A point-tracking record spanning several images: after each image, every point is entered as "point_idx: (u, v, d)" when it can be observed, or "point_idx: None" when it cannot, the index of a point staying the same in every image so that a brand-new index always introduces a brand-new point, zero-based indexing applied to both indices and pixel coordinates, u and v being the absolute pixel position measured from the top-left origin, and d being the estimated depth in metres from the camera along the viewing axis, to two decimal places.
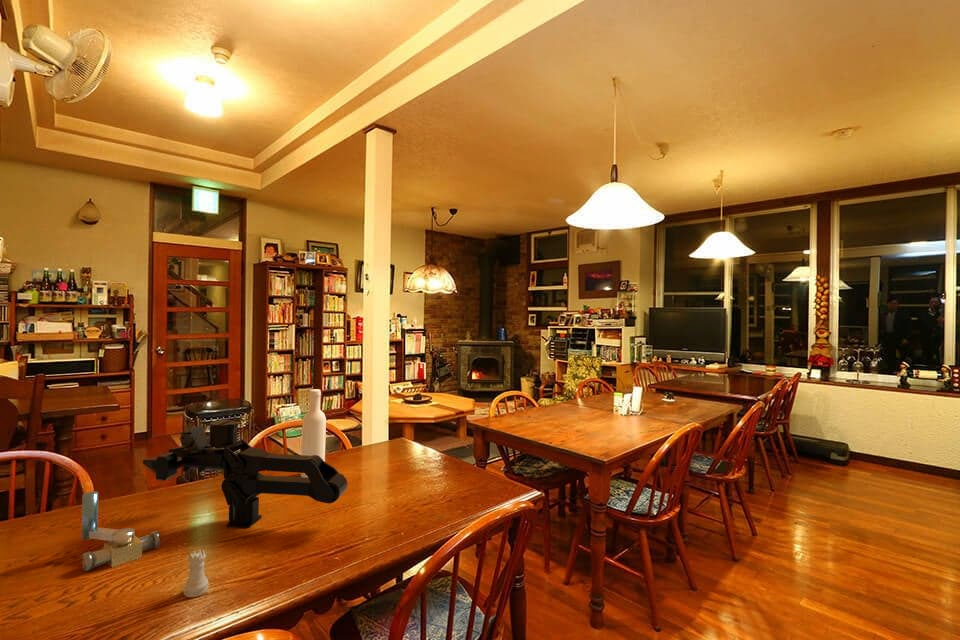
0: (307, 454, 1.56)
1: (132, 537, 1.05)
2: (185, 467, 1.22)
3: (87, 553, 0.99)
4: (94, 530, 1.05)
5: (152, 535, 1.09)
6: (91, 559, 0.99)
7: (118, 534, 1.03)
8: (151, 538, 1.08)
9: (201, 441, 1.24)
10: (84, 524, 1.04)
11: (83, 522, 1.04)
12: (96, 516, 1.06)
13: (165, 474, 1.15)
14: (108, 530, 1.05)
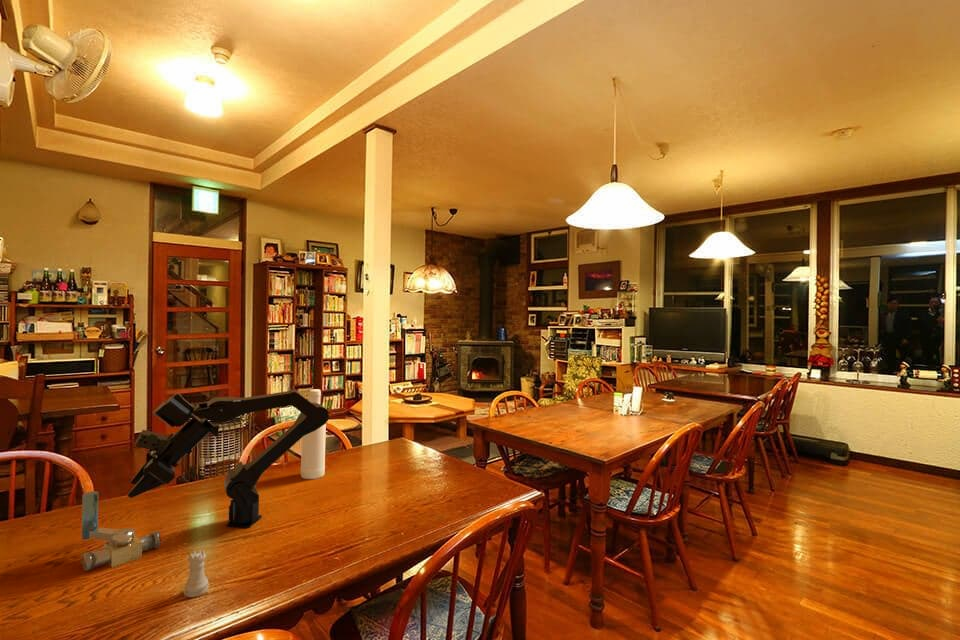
0: (307, 454, 1.56)
1: (132, 537, 1.05)
2: (173, 463, 1.12)
3: (87, 553, 0.99)
4: (94, 530, 1.05)
5: (152, 535, 1.09)
6: (91, 559, 0.99)
7: (118, 534, 1.03)
8: (151, 538, 1.08)
9: (161, 436, 1.13)
10: (84, 524, 1.04)
11: (83, 522, 1.04)
12: (96, 516, 1.06)
13: (170, 471, 1.07)
14: (108, 530, 1.05)
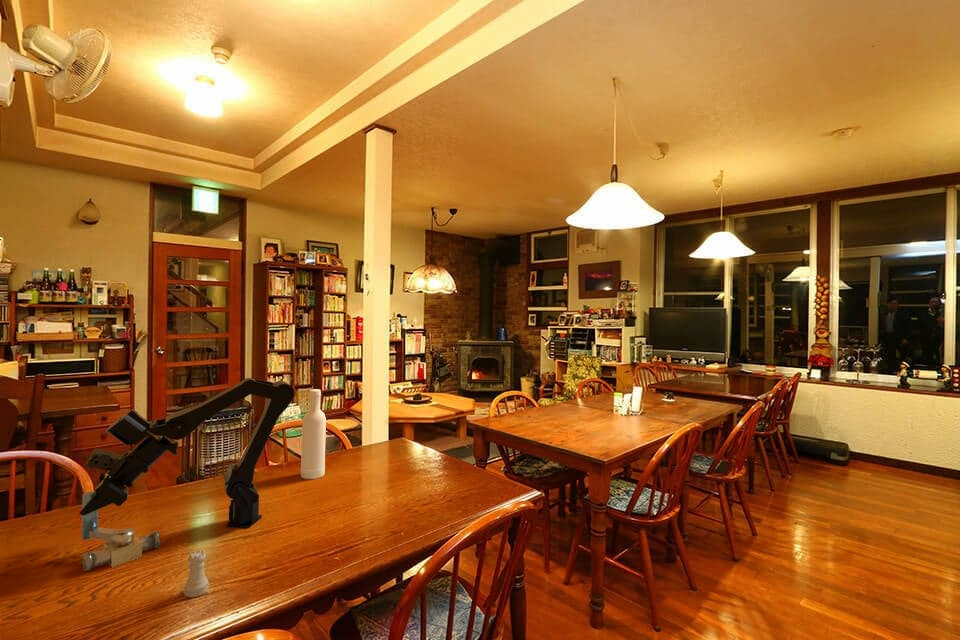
0: (307, 454, 1.56)
1: (132, 537, 1.05)
2: (127, 483, 1.08)
3: (87, 553, 0.99)
4: (94, 530, 1.05)
5: (152, 535, 1.09)
6: (91, 559, 0.99)
7: (118, 534, 1.03)
8: (151, 538, 1.08)
9: (114, 455, 1.08)
10: (84, 524, 1.04)
11: (83, 522, 1.04)
12: (96, 516, 1.06)
13: (122, 493, 1.02)
14: (108, 530, 1.05)
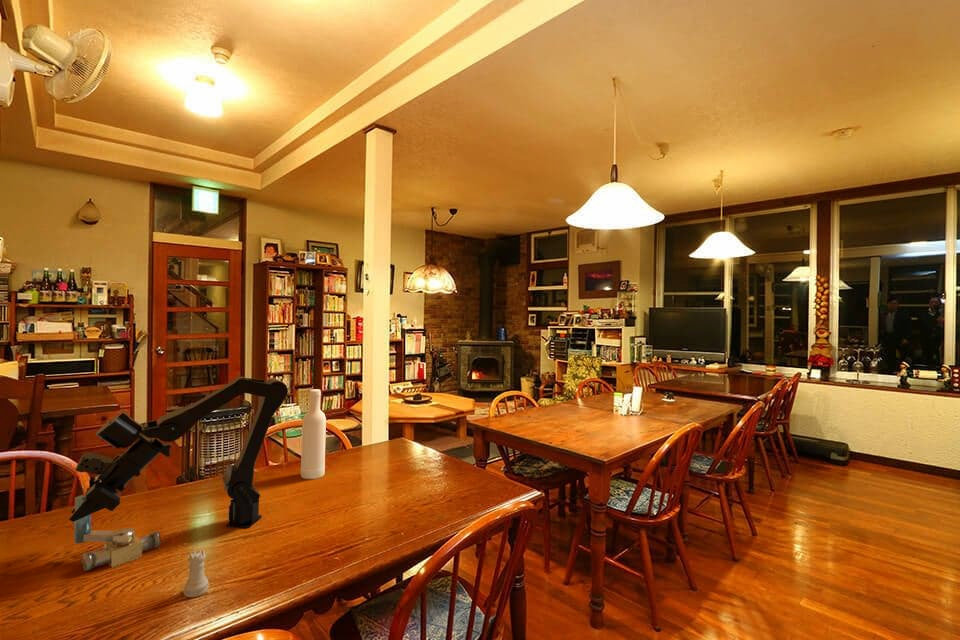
0: (307, 454, 1.56)
1: (133, 536, 1.05)
2: (119, 487, 1.05)
3: (87, 553, 0.99)
4: (89, 533, 1.04)
5: (152, 535, 1.09)
6: (91, 559, 0.99)
7: (119, 534, 1.03)
8: (151, 538, 1.08)
9: (105, 458, 1.06)
10: (78, 528, 1.03)
11: (76, 526, 1.03)
12: (90, 519, 1.04)
13: (114, 498, 1.00)
14: (105, 532, 1.04)
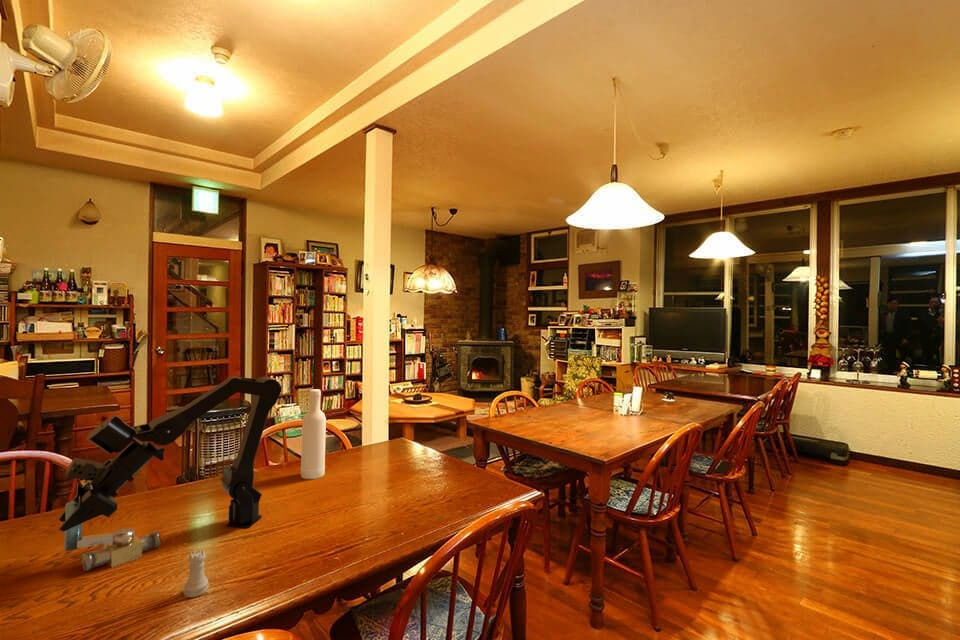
0: (307, 454, 1.56)
1: None
2: (112, 493, 1.02)
3: (87, 553, 0.99)
4: (82, 539, 1.01)
5: (152, 535, 1.09)
6: (91, 559, 0.99)
7: (121, 534, 1.03)
8: (151, 538, 1.08)
9: (96, 464, 1.02)
10: (71, 535, 1.00)
11: (69, 533, 0.99)
12: (81, 525, 1.02)
13: (112, 503, 0.97)
14: (100, 535, 1.03)
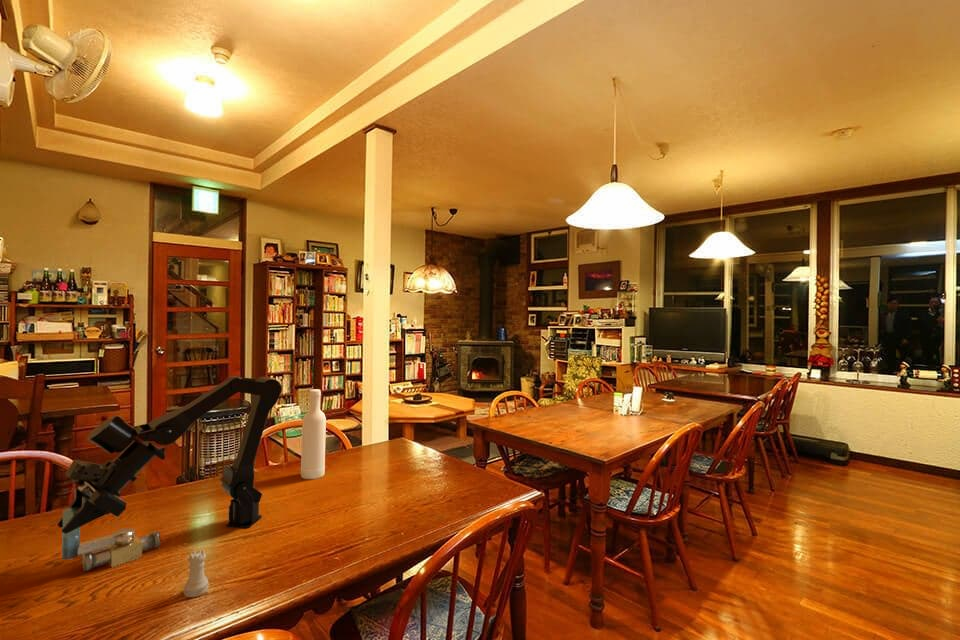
0: (307, 454, 1.56)
1: None
2: (115, 493, 1.01)
3: (87, 553, 0.99)
4: (82, 545, 0.99)
5: (152, 535, 1.09)
6: (91, 559, 0.99)
7: (124, 534, 1.04)
8: (151, 538, 1.08)
9: None
10: (72, 542, 0.97)
11: (71, 540, 0.97)
12: None
13: (121, 503, 0.97)
14: (99, 539, 1.01)
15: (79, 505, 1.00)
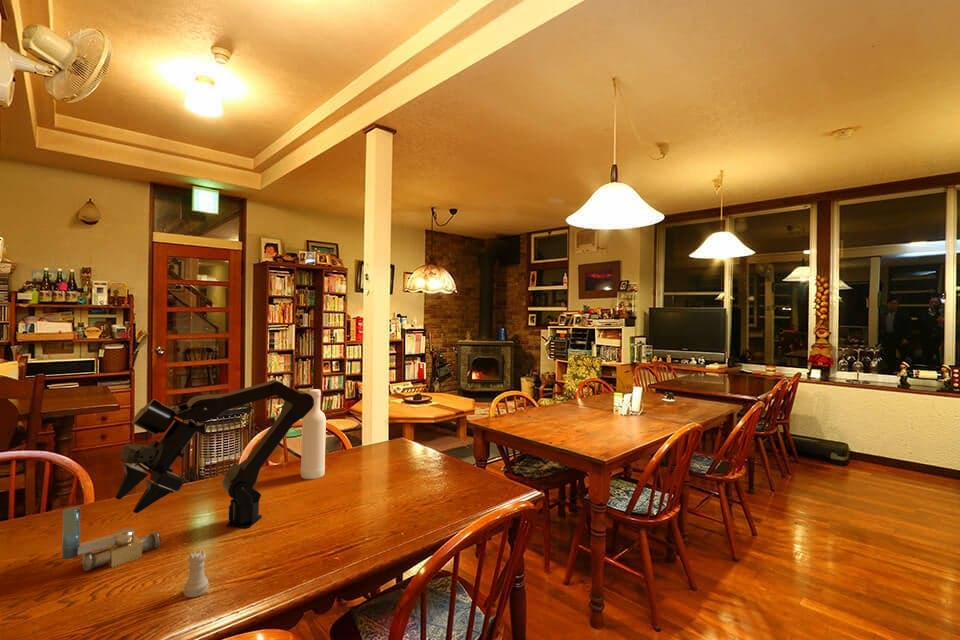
0: (307, 454, 1.56)
1: None
2: (168, 470, 1.10)
3: (87, 553, 0.99)
4: (82, 545, 0.99)
5: (152, 535, 1.09)
6: (91, 559, 0.99)
7: (124, 534, 1.04)
8: (151, 538, 1.08)
9: (147, 447, 1.08)
10: (72, 542, 0.97)
11: (71, 540, 0.97)
12: None
13: (179, 479, 1.06)
14: (99, 539, 1.01)
15: (131, 479, 1.10)
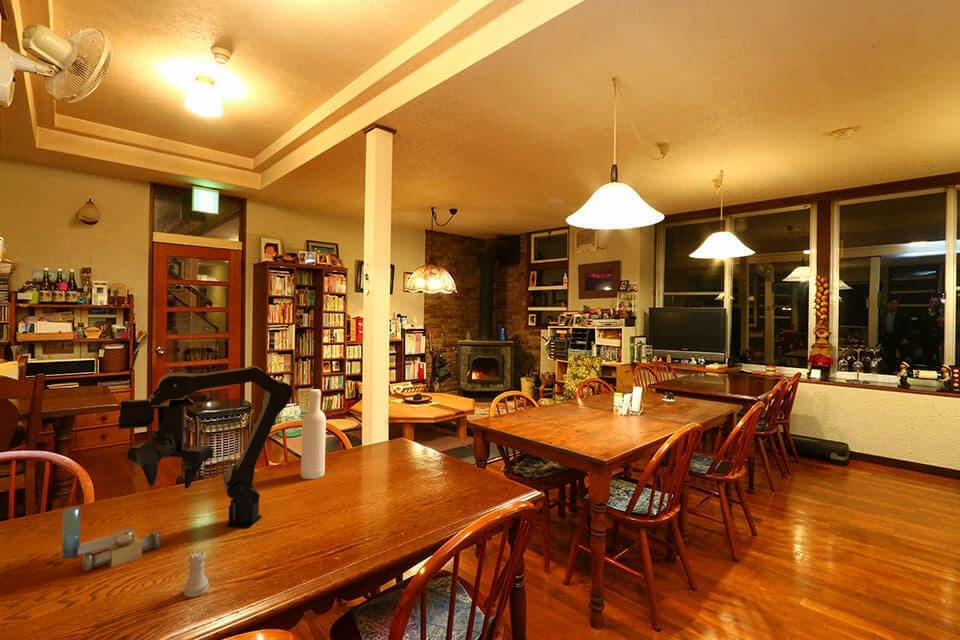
0: (307, 454, 1.56)
1: None
2: (185, 445, 1.15)
3: (87, 553, 0.99)
4: (82, 545, 0.99)
5: (152, 535, 1.09)
6: (91, 559, 0.99)
7: (124, 534, 1.04)
8: (151, 538, 1.08)
9: (155, 441, 1.09)
10: (72, 542, 0.97)
11: (71, 540, 0.97)
12: None
13: (209, 448, 1.14)
14: (99, 539, 1.01)
15: (151, 467, 1.14)
